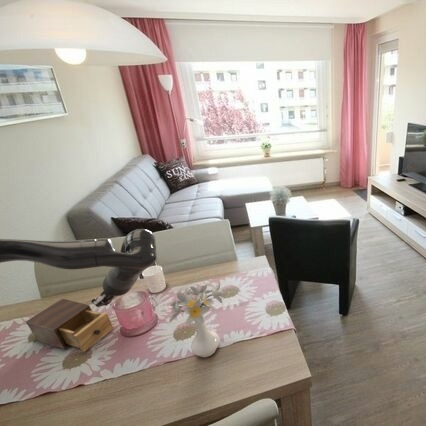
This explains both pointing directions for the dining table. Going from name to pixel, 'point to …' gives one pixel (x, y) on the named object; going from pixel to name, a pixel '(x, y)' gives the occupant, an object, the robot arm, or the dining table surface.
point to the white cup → (154, 278)
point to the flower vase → (199, 317)
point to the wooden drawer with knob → (85, 329)
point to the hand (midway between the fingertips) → (105, 302)
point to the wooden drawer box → (55, 321)
